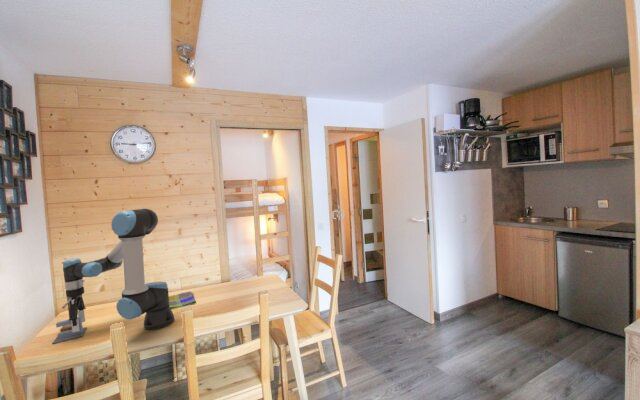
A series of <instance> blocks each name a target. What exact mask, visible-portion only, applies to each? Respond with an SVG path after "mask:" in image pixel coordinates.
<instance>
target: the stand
mask: <svg viewBox="0 0 640 400" xmlns="http://www.w3.org/2000/svg"><path fill="white" fill-rule="evenodd" d="M66 300H67V302H66V303H65V304H64V305H63V306H62V309H65V308H66V306H67V310H68V320H69V319H70V301H71V300H72V298H71V297H67V296H66ZM70 330H72V324H70V325H65V326H61V328H60V330H59V331H60V332H59V333H61V332H66V331H70Z"/></svg>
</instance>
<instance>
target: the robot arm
mask: <svg viewBox="0 0 640 400" xmlns="http://www.w3.org/2000/svg"><path fill="white" fill-rule="evenodd" d="M158 223H159V218H158V215H157V213H156V212H155V211H153V210H152V209H150V208H139V209H127V210H123V211H122V210H121V211H118V212H117V213H116V214H115V215H114V216H113V218H112V220H111V224H110V225H111V230H112V231H113V233H114V234H115V235H117V237H118V239H119V240H120V241H119V242H118V243H117V244H116V246H114V248H113V249H112V250H111V251H110V252H109V253H108V254H107V255H106V256H105V257H103V258H100V259H95V260H91V261H88V262H82V261H81V258H80V257H79V258H70V259H67V260H64V261H63V262H62V271H63V272H62V273H63V278H64V287H65V288H64V289H65V295H66V298H67V297H71V298H72V300H71V301H70V319H69V318H68V320H69V321H71V323H72V332H77V331H79V322H78V317H81V319H82V323H85V322H86V316H85V315H86V314H85V310H86V309H87V308H86V305H85V302H84V299H83V294H85V287H84V283H85V280H84V278H93V277H94V278H95V277H98V276H99V275H100V274H102V273H105V272H108V271H112V270H116V269H118V268H120V267H121V266H122V264H123V275H124V276H123V278H124V289H123V290H121V298H120V299H118V300H117V302H116V310H117V313H118V315H119V316H121V318H123V319H126V320H129V321H130V320H134V319H136V318H139V317H140V316H142V315H145V316H144V320H143V322H142V323H143V325H142V326H143V329H144V330H147V331H151V330H152V331H153V330H154V331H155V330H158V329H162V328H165V327H168V326H169V325H171V324H173V323H174V322H175V315H174V313H173V311H172V310H171V309H170V305H169V296H170V295H169V287H168V283H167V282H166V281H152V282H148V283H146V282H145V266H144V263H145V262H144V246H143V239H144V238H145V237H146V236H147V235H150V234H151V233H152V232H153V231H154V230H156V228H157V226H158Z"/></svg>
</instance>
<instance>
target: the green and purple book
mask: <svg viewBox="0 0 640 400" xmlns="http://www.w3.org/2000/svg"><path fill="white" fill-rule="evenodd" d="M196 301H197V300H196V299H195V295H194V293H193V292H192V291H186V292H181V293H177V294H174V295H169V305H170V309H171V311H172V310H177V309H180V308H184V307H188V306H192V305H196Z"/></svg>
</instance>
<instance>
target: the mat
mask: <svg viewBox="0 0 640 400" xmlns="http://www.w3.org/2000/svg"><path fill="white" fill-rule="evenodd" d="M87 329H88V327H83V332H82V333H80V334H75V335H71V336H67V337H63V338H59V339H58V336H56V338H55V339H54V340H53V342H52V345H56V344H59V343H63V342H67V341H72V340H76V339H79V338H80V339H81V338H83V336H84V334H85V333H86V331H87Z"/></svg>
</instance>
